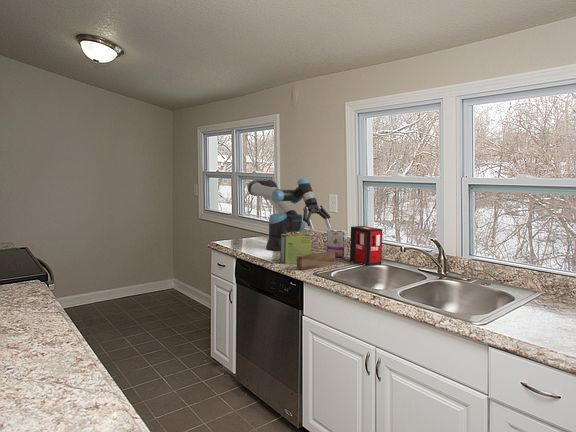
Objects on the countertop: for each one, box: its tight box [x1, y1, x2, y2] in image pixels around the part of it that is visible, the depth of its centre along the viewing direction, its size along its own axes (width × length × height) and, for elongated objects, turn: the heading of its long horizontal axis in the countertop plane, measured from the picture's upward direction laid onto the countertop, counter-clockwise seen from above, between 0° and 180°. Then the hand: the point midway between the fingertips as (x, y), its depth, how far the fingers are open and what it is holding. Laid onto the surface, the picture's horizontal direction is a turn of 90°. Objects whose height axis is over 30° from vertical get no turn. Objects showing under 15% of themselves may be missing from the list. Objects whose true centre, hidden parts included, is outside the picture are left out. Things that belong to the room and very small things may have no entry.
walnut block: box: [296, 251, 336, 271], centre depth 232 cm, size 4×24×7 cm, turn 129°
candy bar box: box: [326, 228, 348, 259], centre depth 262 cm, size 11×5×16 cm, turn 62°
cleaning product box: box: [349, 225, 383, 267], centre depth 245 cm, size 16×9×20 cm, turn 31°
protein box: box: [279, 232, 312, 265], centre depth 245 cm, size 10×15×16 cm
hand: (321, 229), depth 270 cm, fingers open, 13 cm apart
